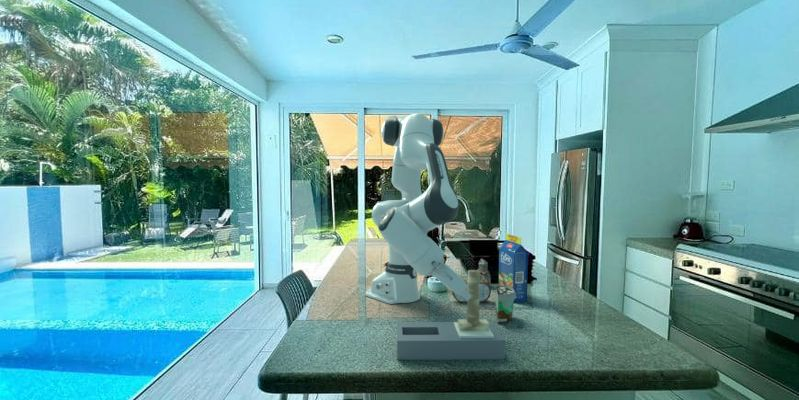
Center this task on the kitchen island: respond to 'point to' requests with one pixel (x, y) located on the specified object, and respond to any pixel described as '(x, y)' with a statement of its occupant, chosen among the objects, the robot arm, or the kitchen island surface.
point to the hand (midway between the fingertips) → (461, 292)
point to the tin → (483, 292)
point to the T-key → (473, 306)
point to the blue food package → (514, 267)
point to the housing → (447, 342)
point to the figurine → (484, 272)
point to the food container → (504, 303)
